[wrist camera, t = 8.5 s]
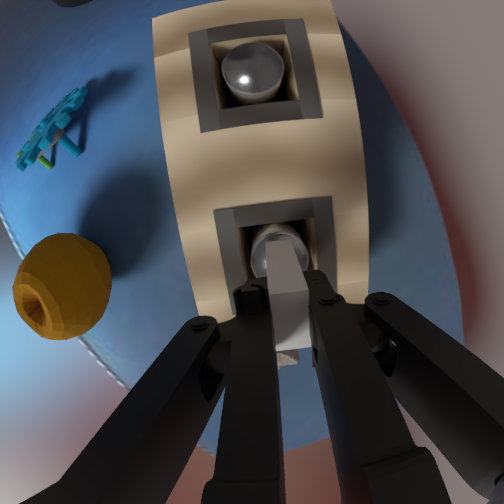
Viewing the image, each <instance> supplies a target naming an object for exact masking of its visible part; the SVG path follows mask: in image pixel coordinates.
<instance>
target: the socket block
mask: <svg viewBox="0 0 504 504" xmlns="http://www.w3.org/2000/svg"><path fill="white" fill-rule="evenodd" d="M152 28H153V47H154V61H155V74H156V84H157V94H158V103H159V112H160V120H161V128H162V135H163V142H164V149H165V156H166V162H167V168H168V174H169V180H170V186H171V191H172V197H173V202H174V207H175V213H176V218H177V223H178V228H179V232H180V237H181V242H182V246H183V251H184V255H185V260H186V264H187V268H188V273H189V277H190V281H191V285H192V289H193V293H194V297H195V301H196V305H197V308H198V312H199V316H212V317H214V318H215V319H216V320H217V323H221V322H225V321H228V320H230V319H232V318H234V317H235V316H236V308H235V303H234V298H233V291H234V289H236V288H237V287H239V286H241V285H243V284H244V283H245V282H246V281H247V280H248V279H251V278H257V277H256V276H255V274H254V272H253V270H252V267H251V253H250V246H249V239H248V233H247V226H253V225H260V224H268V223H276V222H284V221H293V220H299V224H300V234H301V239H302V241H303V243H304V245H305V247H306V249H307V252H308V256H309V263H308V268H307V270H306V271H309V270H317V269H319V270H321V271H322V272H324V273H325V274H326V276H327V279H328V280H329V282H330V284H331V286H332V288H333V290H334V291H335V293H338V294H340V295H342V296H343V297H344V299H345V300H346V302H347V303H352V304H365V298H366V297H367V296H368V276H369V220H368V197H367V182H366V170H365V160H364V150H363V142H362V134H361V127H360V120H359V114H358V108H357V102H356V96H355V91H354V86H353V81H352V76H351V71H350V67H349V63H348V58H347V54H346V50H345V46H344V43H343V39H342V35H341V32H340V28H339V25H338V21H337V18H336V15H335V12H334V9H333V6H332V3H331V0H225V1H219V2H214V3H209V4H204V5H199V6H195V7H190V8H186V9H182V10H179V11H175V12H171V13H168V14H165V15H161V16H158V17H155V18H152ZM251 42H256V43H262V44H265V45H268V46H270V47H272V48H273V49H274V50H276V51H277V52H278V54H279V55H280V56H281V58H282V60H283V64H284V72H283V76H282V80H281V89H282V95H283V101H282V102H272V103H263V104H255V105H248V106H241V107H234V108H229V105H228V99H227V92H226V85H225V79H224V76H223V73H222V64H223V61H224V58H225V57H226V55H227V54H228V53H229V52H230V51H231V50H232V49H233V48H235V47H236V46H239V45H241V44H244V43H251Z"/></svg>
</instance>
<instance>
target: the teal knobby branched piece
mask: <svg viewBox="0 0 504 504" xmlns="http://www.w3.org/2000/svg"><path fill="white" fill-rule="evenodd" d="M87 92H88V91H87V90H86V89H85V88H84V87H83V86H82V87H81V88H80V89H79V88H76V89H74V90H73V91H72V93H71V94H70V95H69V96H68V95H66V96H65V97H64V98H63V99H62V100H61V101H60V102H59V104H58V105H57V107H56V108H55V109H54V108H53V109H51V110H50V111H49V112H48V114H47V115H46V116H45V117H44V118H43V119H42V121H41V122H40V124H39V125H38V126H37V127H36V128H35V130H34V131H33V132H32V134H33V135H32V136H31V137H30V139H29V140H28V141H27V142H26V143H25V145H24V146H23V148H22V149H21V150H20V151H19V152H18V154H17V156H16V157H17V158H18V159H17V161H16V164H17V168H19V169H20V170H21V171H22V172H23V171H24V170H25V168H26V167H27V165H29V166H31V165H33V164H34V162H35V161H36V160H38V161H39V162H40V163H42V164H43V165H44V166H45V167H46V168H48V169H49V170H50V169H51V168H52V166H53V164H52V163H51V162H49V161H48V160H47V159H46V158H45V157H44V156H42V154H43V153H45V152H46V151H47V150H48V149H49V148H50V147H52V146H53V145H54V144H55V143H56V142H58V143H60V144H61V145H62V146H63V147H64V148H65V149H66V150H67V151H68V152H69V153H71V154H72V155H73V156H74V157H75V158H77V157H78V156H79V155H80V153H81V152H82V150H81V149H80V148H79V147H78V146H77V145H76V144H74V143H73V142H72V141H71V140H70V139H69V138H68V137H67V136H66V135H65V134H64V133H65V130H64V129H63V128H64V127H65V126H66V125H67V124H68V123H69V121H70V120H71V119H72V118H71V117H70V116H69V115H68V114H69V113H70V112H71V111H72V110H74V111H75V110H77V109H78V108H79V107H80V106H81V105H82V103H83V102H84V101H85V100H84V97H85V96H86V94H87Z"/></svg>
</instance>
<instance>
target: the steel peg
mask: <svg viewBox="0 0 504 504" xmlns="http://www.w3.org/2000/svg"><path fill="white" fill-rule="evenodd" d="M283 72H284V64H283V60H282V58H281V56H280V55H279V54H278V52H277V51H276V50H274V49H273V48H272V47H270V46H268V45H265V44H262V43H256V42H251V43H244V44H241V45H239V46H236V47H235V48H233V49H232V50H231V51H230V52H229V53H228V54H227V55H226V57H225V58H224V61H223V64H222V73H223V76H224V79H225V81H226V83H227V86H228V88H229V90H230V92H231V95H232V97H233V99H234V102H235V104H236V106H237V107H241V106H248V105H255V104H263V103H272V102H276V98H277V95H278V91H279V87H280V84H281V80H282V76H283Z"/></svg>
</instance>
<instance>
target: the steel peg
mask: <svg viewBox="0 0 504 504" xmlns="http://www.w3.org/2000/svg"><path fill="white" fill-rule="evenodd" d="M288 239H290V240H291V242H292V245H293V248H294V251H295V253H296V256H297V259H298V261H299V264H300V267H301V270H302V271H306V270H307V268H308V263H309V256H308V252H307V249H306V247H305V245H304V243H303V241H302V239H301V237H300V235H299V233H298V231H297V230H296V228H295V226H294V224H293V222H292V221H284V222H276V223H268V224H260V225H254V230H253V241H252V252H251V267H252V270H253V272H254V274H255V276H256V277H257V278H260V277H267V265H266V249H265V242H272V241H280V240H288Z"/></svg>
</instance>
